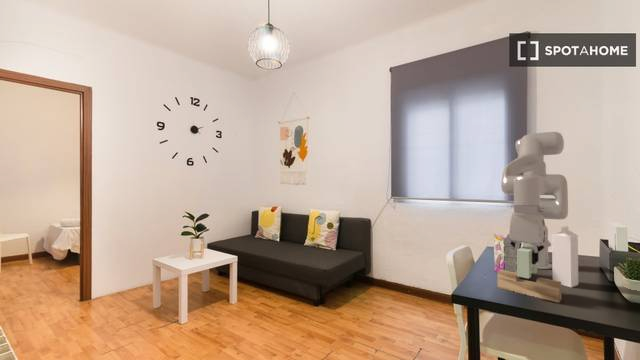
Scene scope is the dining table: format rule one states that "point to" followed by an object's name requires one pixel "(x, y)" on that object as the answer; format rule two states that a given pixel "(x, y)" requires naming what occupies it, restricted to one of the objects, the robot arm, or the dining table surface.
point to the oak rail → (530, 286)
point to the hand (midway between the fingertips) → (527, 261)
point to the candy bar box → (504, 254)
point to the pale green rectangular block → (525, 262)
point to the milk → (565, 257)
